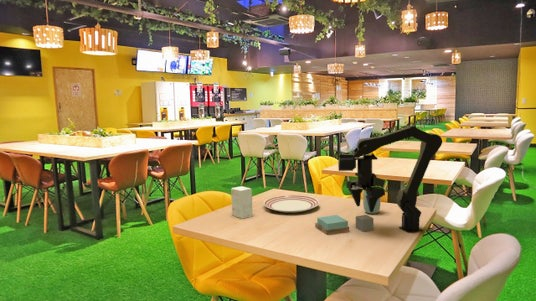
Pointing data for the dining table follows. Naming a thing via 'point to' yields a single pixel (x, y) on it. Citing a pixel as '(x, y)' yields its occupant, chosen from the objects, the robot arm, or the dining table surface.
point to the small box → (241, 202)
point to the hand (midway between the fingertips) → (364, 209)
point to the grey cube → (364, 223)
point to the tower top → (332, 222)
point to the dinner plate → (291, 203)
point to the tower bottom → (331, 230)
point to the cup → (366, 207)
